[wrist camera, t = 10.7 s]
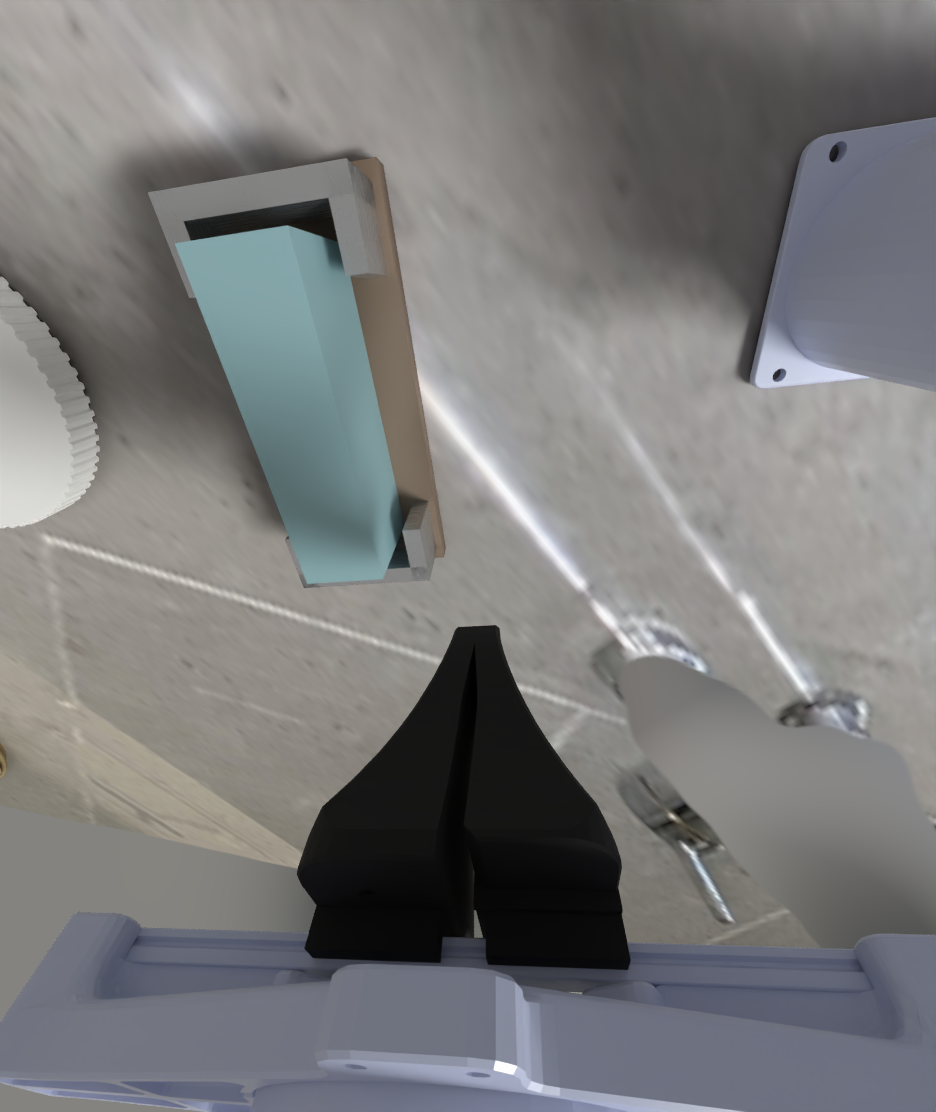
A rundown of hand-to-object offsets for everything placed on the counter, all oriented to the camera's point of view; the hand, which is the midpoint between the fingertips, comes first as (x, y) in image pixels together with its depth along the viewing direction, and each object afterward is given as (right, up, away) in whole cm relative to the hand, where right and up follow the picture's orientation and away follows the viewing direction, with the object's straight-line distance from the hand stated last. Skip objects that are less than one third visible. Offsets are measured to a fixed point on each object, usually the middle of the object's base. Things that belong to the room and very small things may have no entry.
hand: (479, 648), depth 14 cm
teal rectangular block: (-6, +10, +5) cm, 13 cm away
